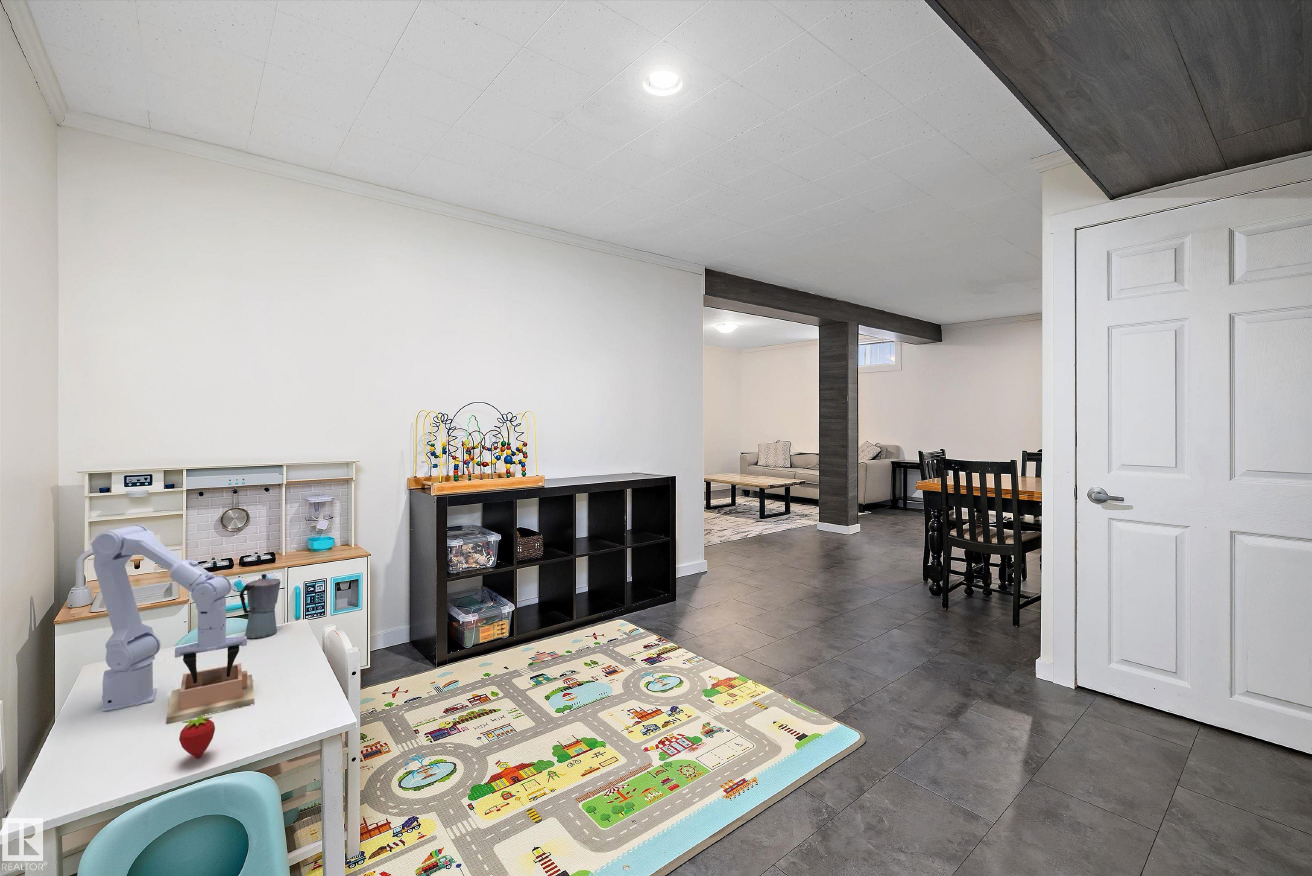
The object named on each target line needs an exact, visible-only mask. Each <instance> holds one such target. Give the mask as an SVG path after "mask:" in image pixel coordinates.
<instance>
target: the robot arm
mask: <svg viewBox="0 0 1312 876" xmlns="http://www.w3.org/2000/svg"><path fill="white" fill-rule="evenodd" d="M90 545H91V550H92V554H93V556H94V557H93V568H94V572H95V575H96V579H97V582H98V585H99V589H100V591H101V595H102V599H103V602H104V605H105V608H106V612H107V615H108V619H109V622H110V625H111V628H112V634H111V636H110V637H109V638H108V640H107V641H106V643H105V649H106V654H105V663H106V665H107V666H108V667H109V669H106V670H104V671H103V676H102V696H101V697H102V698H101V699H102V710H101V711H102V712H108V711H113V710H119V709H123V708H128V707H133V706H137V705H142V704H146V703H152V702H154V700H155V696H156V693H157V688H155V687H154V676H153V675H154V672H153V671H154V668H153V666H154V663H153V662H154V660H156V659H155V657H156V655H157V654H158V653H159V651H160V650H161V641H160V639H159V637H158V636H157V635H156V634H155V633H154V630H153V628H152V627H151V626H149V625H146V624H144V623H142V620H141V617H140V613H139V609H138V605H137V602H136V598H135V596H134V595H135V594H134V592H133V589H132V585H131V582H130V578H129V575H128V572H127V568H126V564H127V563H128V562H129V561H130V559H131V558H132V557H133V556H136V555H137V556H144V557H145V558H146V559H149V560H150V561H152V562H153V563H155V564H156V565H158V566H160V567H162V568H163V569H166V570H167V571H169V578H170V580H172V581H174V582H175V583H177V584H178V585H180V586H181V587H183V588H184V589H186V590H187V591H188V592H189V593H190V596H191V599H192V601H193V602H194V603H195V609H196V611H197V642H195V643H191V644H188V645H183V646H182V645H181V646H179V647H178V646H177V647H175V648H174V658H176V659H178V658H180V657H183V658H182V661H183V663H184V665H186V667H187V670H189V673H191V675H192V678H193V683H197V671H198V669H197V654H199V653H200V654H201V653H206V652H212V651H217V650H223V649H227V664H226V666H227V677H230V672H231V668H232V665H234V662H235V660H236V657H237V655H238V654H239V652H240V647H241V646H242V647H245V646H248V637H247V636H245V635H244V636H238V637H237V636H235V637H227V630H226V629H227V622H226V621H227V617H226V616H227V608H226V607H227V603H226V602H227V601H226V600H227V599H226V598H227V596H228V595H229V594H230V592H231V590H232V583H231V582H230V580H229V578H227V577H226V576H225V575H222V574H220V575H215V574H214V573H213V572H210V571H208V570H206V569H205V568H204V567H202V566H201V565H200V564H199V562H198V561H196V560H192V559H185V560H184V559H182V558H180V557H179V556H178V555H176V554H175V553H174V552H173V551H171V550H170V549H169V548H168V547H167V546H165V545H164V544H163V543H162V542H161V541H160V540H158V539H157V538H156V537H155V533H154V531H152V530H151V529H150V530H149V529H148V528H147V526H145V525H143V524H131V525H130V526H125V527H120V528H117V529H116V528H115V529H112V530H103V531H101V532H100V533H98V534H97V535H96V537H95V538H94V539H93V540H92V541H91V543H90Z"/></svg>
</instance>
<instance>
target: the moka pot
mask: <svg viewBox="0 0 1312 876" xmlns="http://www.w3.org/2000/svg"><path fill="white" fill-rule="evenodd" d="M260 576H261V578H260V579H257V580H256V579H255V580H252V581H249V582H247V583H246V585H244V586H243V587H242V589H241V591H240V592H239V599H240V602H241V606H242V611H243V613H244V614H245V615H246V614H248V619H247V624H246V629H245V632H244V636H247V639H248V638H249V639H256V638H257V639H259V638H266V637H270V636H273V635H275V634H277V630H278V629H277V622H276V621H277V620H276V610H275V609H276V605H277V603H278V597H279V592H280V586H281V579H280V578H267V576H268V575H267V574H265V573H263V574H261V575H260ZM245 592H246V597H247V606H248V607H249V609H247V606H246V598H245Z"/></svg>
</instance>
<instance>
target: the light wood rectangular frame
mask: <svg viewBox="0 0 1312 876" xmlns="http://www.w3.org/2000/svg"><path fill="white" fill-rule="evenodd" d="M253 681H254V680H253V675H252V674H247V687H243V688H242V697H241V698H236V699H231V700H227V701H222V702H218V703H213V704H209V705H204V706H199V707H195V708H190V709H186V710H181V711H180V689H181V688H178V689H171V693H170V698H169V703H168V707H167V712H166V717H165V718H166V719H165V720H166V723H165V724H166V725H169V724H172V723H178V722H183V721H187V720H190V719H189V718H191V719H195V718H198V716H201V715H204V716H206V715H205V714H209V713H213V712H217V713H219V712H218V711H222V712H224V711H223V710H226V711H228V710H227V709H231V710H234V709H233V708H235V709H238V708H237V707H239V708H243V707H242V706H244V707H247V706H252V705H251V704H253V705H255V693H254V683H253ZM194 712H195V713H197V714H198V715H197V714H195V713H194ZM213 714H214V713H213ZM209 715H210V714H209ZM194 717H195V718H194ZM176 721H177V722H176Z"/></svg>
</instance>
